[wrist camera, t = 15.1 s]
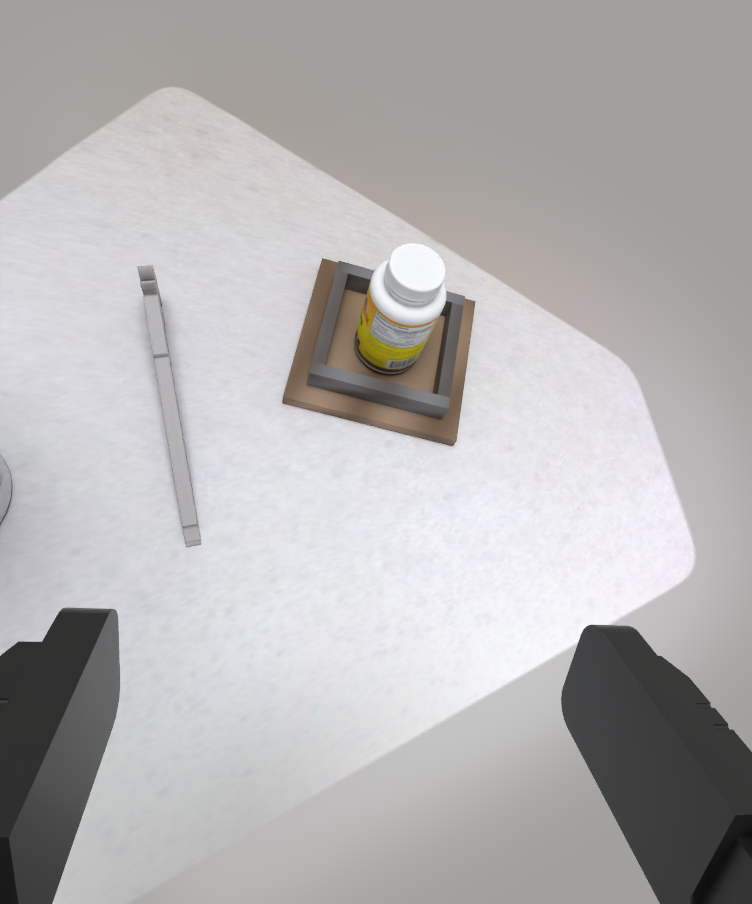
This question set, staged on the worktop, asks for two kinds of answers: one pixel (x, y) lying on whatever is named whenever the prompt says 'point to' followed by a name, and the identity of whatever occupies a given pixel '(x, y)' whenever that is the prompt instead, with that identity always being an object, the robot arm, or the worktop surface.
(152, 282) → the caliper
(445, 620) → the worktop surface
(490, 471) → the worktop surface
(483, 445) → the worktop surface
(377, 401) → the collar base
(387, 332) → the supplement bottle
